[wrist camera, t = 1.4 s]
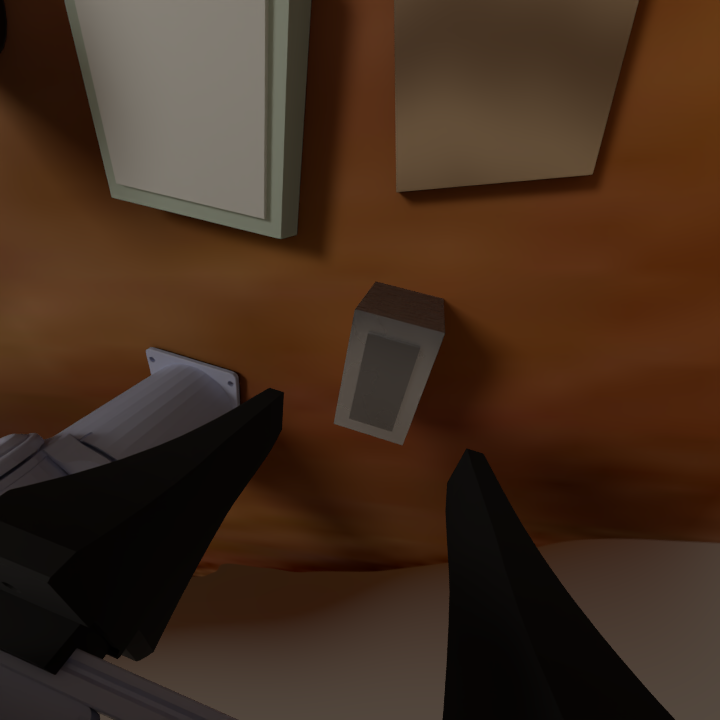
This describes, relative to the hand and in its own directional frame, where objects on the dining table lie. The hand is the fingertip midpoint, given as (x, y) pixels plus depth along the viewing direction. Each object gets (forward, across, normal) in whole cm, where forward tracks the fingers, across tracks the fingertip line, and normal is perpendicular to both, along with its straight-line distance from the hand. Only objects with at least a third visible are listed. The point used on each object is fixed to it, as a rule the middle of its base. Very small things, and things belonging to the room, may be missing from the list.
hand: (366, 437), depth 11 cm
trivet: (+8, -1, -13) cm, 16 cm away
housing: (+9, 0, 0) cm, 9 cm away
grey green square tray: (+8, +12, -10) cm, 18 cm away
